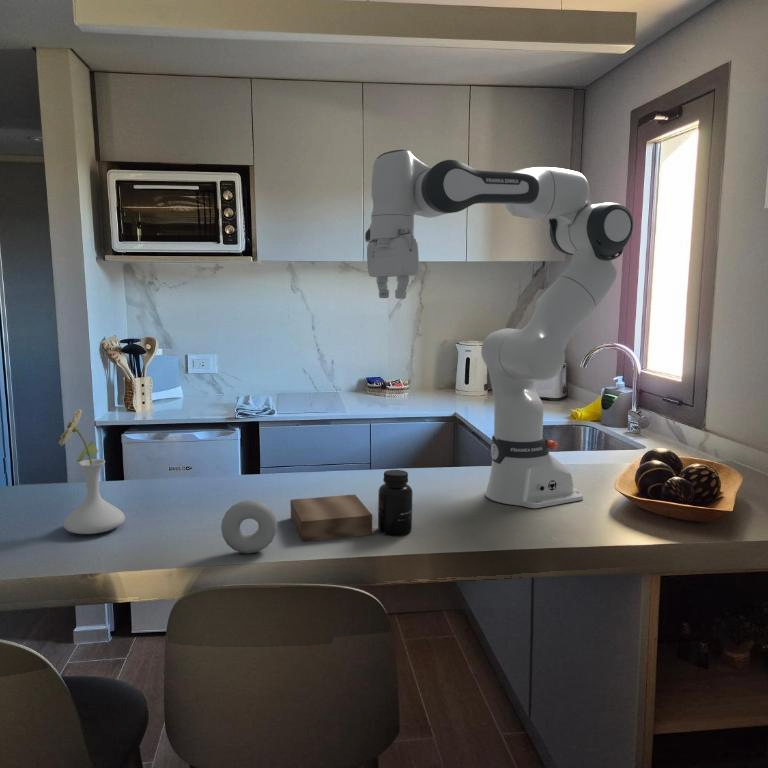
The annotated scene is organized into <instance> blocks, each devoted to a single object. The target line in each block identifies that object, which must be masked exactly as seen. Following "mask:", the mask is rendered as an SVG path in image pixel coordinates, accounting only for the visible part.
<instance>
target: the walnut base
mask: <svg viewBox="0 0 768 768" xmlns="http://www.w3.org/2000/svg"><path fill="white" fill-rule="evenodd" d="M290 520H291V522H292V524H293V526H294V529H295V530H296V532H297V534H298V537H299V539H300V541H301V542H302V541H303V542H312V541H313V540H314V541H320V540H332V539H342V538H352V537H353V536H354V537H361V536H372V535H373V513H371V512H370V510H369V509H368V508H367V507H366V505H365V504H364V503H363V502H362V500H360V498H359V497H358V496H357V494H344V495H333V496H332V495H331V496H320V497H318V496H317V497H308V498H297V499H290Z"/></svg>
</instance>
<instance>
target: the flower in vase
mask: <svg viewBox="0 0 768 768" xmlns="http://www.w3.org/2000/svg"><path fill="white" fill-rule="evenodd" d="M82 414H83V409H81V408H78V409H77V410H76V411H74V413H73V417H72V419H71V420H72V421H68V423H66V430H65V431H64V432H63V433H62V434H61V435H60V440H59V442H58V445H60V446H64V445H65V444H66V443H67V441H68V440H69V439H70V437H71V436H72V435H73V433H75V432H77V434H78V435H79V437H80V438H81V439H80V440H82V442H83V444H84V448H83V449H82V451H81V452H80V453H79V455H78V457H77V460H76V463H77V465H78V466H79V468H80V469H81V470H82V473H83V474H84V478H85V484H86V497H85V499H84V501H83V502H81V504H80V505H79V506H77V508H75V509H74V510H73V511H72V512H70V513H69V515H68V516H67V517H66V518H65V519H64V522H63V528H64V529H65V530H66V531H67V532H69V533H72V534H76V535H77V534H79V535H95V534H101V533H105V532H108V531H112V530H113V529H116V528H118V527H120V526H121V525H123V524H124V522H125V520H126V516H125V514H124V512H123V511H121V509H120V508H118V507H116V506H114V505H113V504H112V503H109V502H108V501H106V500H104V498H102V496H101V492H100V474H101V470H102V468H103V466H104V464H106V460H105V459H101V458H100V459H99V458H92V457H94V456H95V455H97V454H98V453H99V450H98V448H97V446H96V445H95V442H94V441H92V440H91V442H89V444H87V442H86V440H85V438H84V436H83V435H82V434H81V432H80V430H79V429H78V423H79V422H80V419H81V417H82ZM85 455H86V456H87V457H88V459H85V460H84V458H85Z"/></svg>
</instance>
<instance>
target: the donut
mask: <svg viewBox="0 0 768 768" xmlns="http://www.w3.org/2000/svg"><path fill="white" fill-rule="evenodd" d="M248 519H250V520H254V521H255V522H256V523H257V525H258V529H257V531H255V532H254V533H252V534H246V533H244V532H243V531H242V530H241V524H242V523H243V522H244V521H245V520H248ZM220 528H221V529H220V530H221V535H222V538H223V540H224V541H225V543H226V545H227V546H228V547H230V549H232V550H234V551H236V552H237V553H240V554H249V555H250V554H255V553H260V552H261V551H263V550H264V549H266V548H267V547H268V546H269V545H270V544H271V543H272V542H273V541H274V539H275V536H276V534H277V529H278V523H277V517H276V515H275V514H274V511H273V510H272V508H270V506H268V505H267V504H266V503H264V502H262V501H259V500H255V499H247V500H241V501H239V502H237V503H235V504H233V505H232V506H231V507H230V508H228V510H227V511H226V512H225V514H224V515H223V518H222V520H221V526H220Z"/></svg>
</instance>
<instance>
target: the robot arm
mask: <svg viewBox="0 0 768 768" xmlns="http://www.w3.org/2000/svg"><path fill="white" fill-rule="evenodd" d="M371 174H372V176H371V199H372V203H373V204H372V206H373V208H372V211H371V215H370V216H371V219H370V220H371V222H370V225H369V227H368V229H367V230H366V231H365V234H364V241H365V242H366V243H367V246H366V262H367V272H368V275H369V277H371V278H376V285H377V290H378V297H379V299H388V298H389V297H390V294H389V293H390V290H389V289H388V282H389V281H388V279H389V277H396V282H397V284H396V285H397V286H396V289H395V291H394V293H395V294H394V295H395V296H394V297H395V299H398V300H404V299H406V298H407V288H408V286H409V283H410V276H412V277H413V276H417V275H418V274H419V267H420V263H419V260H420V259H419V246H418V240H417V239H416V238H415V235H414V234H415V233H414V227H415V226H414V225H415V215H416V216H418V217H419V216H421V217H424V218H427V219H428V218H435V217H440V216H443V215H447V214H453V213H458V212H461V211H463V210H465V209H468V208H469V207H470V206H473V205H475V204H477V205H478V204H485V205H486V204H492V205H493V204H495V205H496V204H497V205H499V204H502V205H505V208H506V209H507V211H508V212H509V214H511V215H512V216H513V217H514V216H515V217H517V218H518V217H519V218H524V219H531V220H532V219H533V220H536V219H537V220H539V219H540V220H541V219H549V220H548V223H549V236H550V237H549V238H550V240H551V243H552V245H553V247H554V248H555V250H557V251H558V252H561V253H562V254H565V255H570V256H572V258H571V261H570V263H569V264H568V266H567V268H566V269H565V270H564V271H563V272H562V273H561V274H560V275H559V276H558V277H557V278H556V279H555V280H554V281H553V282H552V284H551V285H550V286H549V287H548V288H546V290H545V291H544V292H543V293H542V295H540V297H539V298H538V299H537V300H536V301H535V304H534V313H533V315H532V317H531V319H530V320H529V321H528V322H527V324H526V325H525V326H524V327H523V328H520V329H519V328H508V327H507V328H502V329H499V330H496V331H493V332H491V333H490V334H488V335H487V336H486V337H485V338H484V340H483V342H482V344H481V358H482V360H483V362H484V363H485V365H486V367H487V371H488V376H489V381H490V385H491V390H492V396H493V405H494V406H493V407H494V413H493V415H494V417H493V419H494V420H493V434H492V436H491V448H490V452H491V453H490V454H491V455H490V457H491V460H492V461H491V468H490V473H489V474H490V475H489V479H488V483H487V485H486V490H485V493H484V494H485V497H486V498H488V499H490V500H491V501H494V502H496V503H501V504H505V505H512V506H513V505H514V506H521V507H525V508H528V509H529V508H530V509H538V508H539V509H540V508H545V507H551V506H557V505H562V504H567V503H568V504H569V503H572V502H578V501H582V500H583V499H584V497H583V496H584V495H583V493H582V491H581V490H579V489H578V488H576V487H574V483H573V481H574V480H573V475H572V473H571V471H570V469H569V468H568V467H566V466H565V465H564V464H563V463H561V462H560V461H559V460H557V458H556V457H554V456H553V455H552V454H550V452H549V451H550V450H552V451H556V450H557V448H559V447H558V446H559V444H558V442H557V441H554V440H552V439H549V440H548V439H546V438H545V437H543V432H544V431H543V429H544V427H543V426H544V403H543V401H542V399H541V397H540V396H539V393H538V391H537V387H536V383H535V382H541V381H547V380H551V379H553V378H555V377H556V376H558V375H559V374H560V372H561V371H562V369H563V368H564V365H565V361H566V352H565V350H566V348H567V345H568V344H569V341H570V340H571V338H572V336H573V335H574V333H575V332H576V331H577V329H578V328H579V327H580V326H581V325H582V324H583V322H585V320H586V319H587V318H588V317H589V316H590V315H591V313H592V312H593V311H594V310H595V309H596V308H597V307H598V306H599V305H600V303H601V302H602V301H603V299H604V298H605V297H606V295H607V294H608V293H609V291H610V289H611V287H612V286H613V284H614V282H615V281H616V278H617V276H618V275H617V268H616V265H615V263H614V262H613V260H616V259H618V258H619V257H620V256H622V254H623V253H624V252H623V251H624V247H626V245H627V244H628V242H629V240H630V239H631V236H632V234H633V230H634V229H633V228H634V220H633V216H632V214H631V212H630V210H629V209H628V208H627V207H626V206H625V205H622V204H620V203H616V202H609V201H608V202H602V203H593V204H592V201H591V199H590V193H591V191H590V185H589V181H588V180H587V178H586V177H585V175H583V174H582V173H581V172H579V171H575V170H572V169H566V168H561V167H549V166H536V167H535V166H534V167H533V166H532V167H524V168H519V169H515V170H513V171H491V170H480V169H476V168H474V167H471V166H470V165H468V164H465V163H464V162H462V161H459V160H455V159H445V160H441V161H440V162H438V163H435V165H434V166H429V165H427V164H425V163H424V162H422V161H421V160H419V159H418V158H417V157H415V155H413V153H412V152H411V151H410V150H408V149H394V150H390V151H385V152H383V153H382V154H380V155H378V157H376V158H375V160H374V163H373V165H372V173H371ZM549 449H550V450H549Z"/></svg>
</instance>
